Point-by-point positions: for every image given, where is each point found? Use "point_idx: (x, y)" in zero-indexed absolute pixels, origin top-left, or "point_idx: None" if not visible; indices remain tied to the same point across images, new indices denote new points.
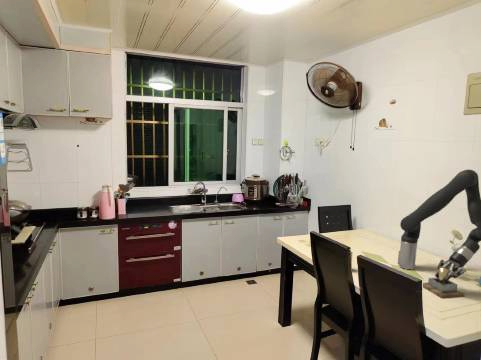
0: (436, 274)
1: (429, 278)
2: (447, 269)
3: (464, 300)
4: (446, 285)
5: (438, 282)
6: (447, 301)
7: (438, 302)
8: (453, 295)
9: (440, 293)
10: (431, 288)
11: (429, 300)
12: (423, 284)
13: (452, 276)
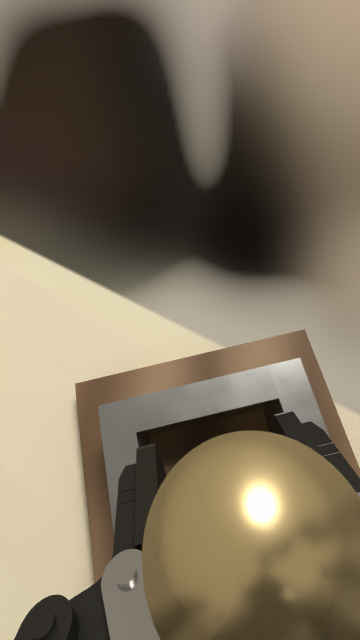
0: (287, 423)
1: (288, 361)
2: (160, 588)
3: (32, 604)
4: (105, 463)
5: (183, 409)
6: (31, 408)
7: (24, 328)
8: (93, 524)
9: (109, 396)
10: (205, 369)
11: (56, 282)
12: (283, 339)
13: (78, 612)
